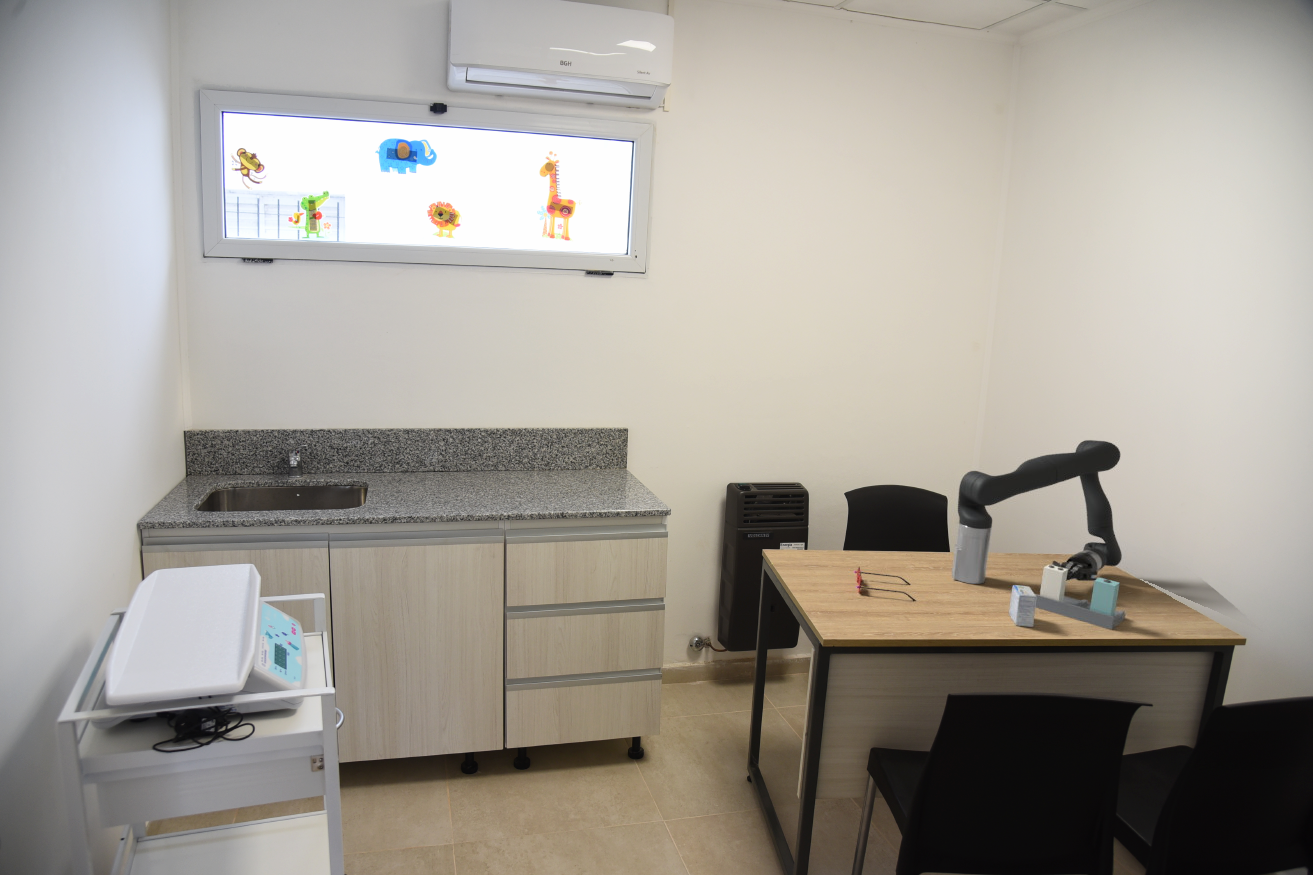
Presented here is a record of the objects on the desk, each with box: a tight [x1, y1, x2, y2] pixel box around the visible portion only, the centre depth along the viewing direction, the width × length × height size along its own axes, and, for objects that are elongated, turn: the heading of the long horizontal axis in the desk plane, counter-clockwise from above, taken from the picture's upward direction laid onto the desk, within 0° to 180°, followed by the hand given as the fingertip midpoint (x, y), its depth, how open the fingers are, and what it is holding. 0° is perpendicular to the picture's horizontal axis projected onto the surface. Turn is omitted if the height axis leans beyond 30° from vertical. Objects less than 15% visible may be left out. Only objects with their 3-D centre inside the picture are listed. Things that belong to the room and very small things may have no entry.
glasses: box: [854, 566, 917, 602], centre depth 231 cm, size 14×16×5 cm
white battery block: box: [1039, 564, 1068, 602], centre depth 222 cm, size 4×5×10 cm
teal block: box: [1090, 577, 1120, 617], centre depth 213 cm, size 4×5×10 cm
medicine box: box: [1008, 584, 1037, 628], centre depth 212 cm, size 8×4×9 cm, turn 168°
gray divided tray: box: [1034, 593, 1127, 631], centre depth 220 cm, size 12×20×4 cm, turn 45°
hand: (1063, 576), depth 227 cm, fingers closed
